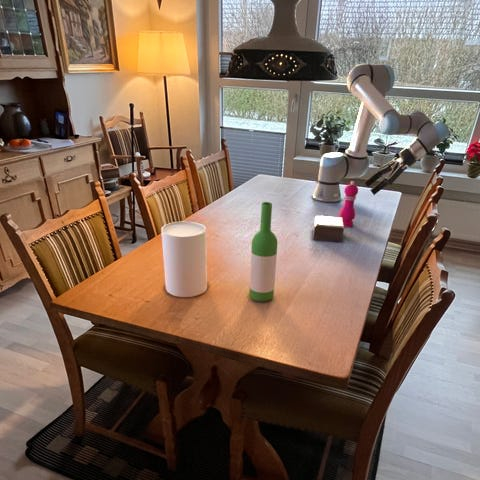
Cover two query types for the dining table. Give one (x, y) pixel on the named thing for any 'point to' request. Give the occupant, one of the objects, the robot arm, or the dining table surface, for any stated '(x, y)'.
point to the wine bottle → (263, 258)
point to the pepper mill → (349, 205)
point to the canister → (185, 258)
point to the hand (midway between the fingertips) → (368, 188)
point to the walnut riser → (328, 229)
